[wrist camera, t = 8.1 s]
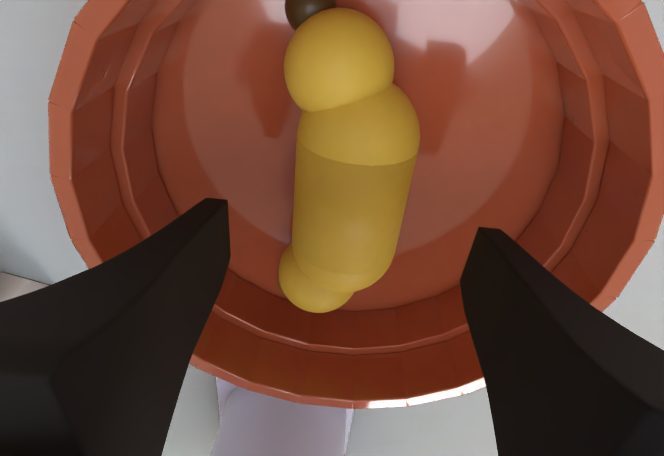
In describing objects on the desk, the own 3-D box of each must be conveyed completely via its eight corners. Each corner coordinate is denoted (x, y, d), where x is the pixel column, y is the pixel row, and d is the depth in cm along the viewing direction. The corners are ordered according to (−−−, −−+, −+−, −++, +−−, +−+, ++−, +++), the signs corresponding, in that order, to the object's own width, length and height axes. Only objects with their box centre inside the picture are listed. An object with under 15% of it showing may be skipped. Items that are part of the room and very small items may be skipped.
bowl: (499, 332, 21) (532, 428, 17) (163, 297, 21) (116, 385, 17) (692, -80, 12) (872, -86, 8) (81, -150, 12) (-73, -195, 7)
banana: (376, 290, 19) (380, 358, 16) (279, 280, 19) (264, 347, 16) (439, -11, 13) (466, 8, 9) (289, -27, 12) (266, -14, 9)
